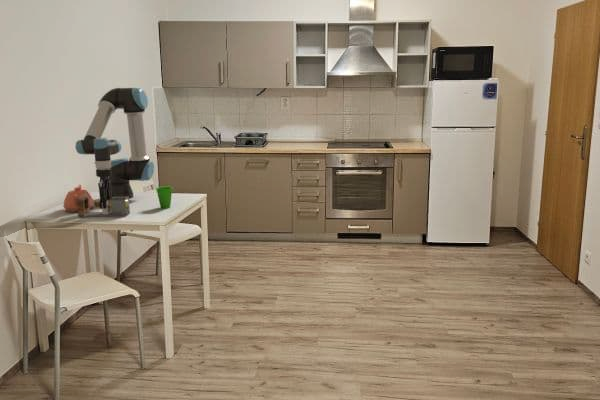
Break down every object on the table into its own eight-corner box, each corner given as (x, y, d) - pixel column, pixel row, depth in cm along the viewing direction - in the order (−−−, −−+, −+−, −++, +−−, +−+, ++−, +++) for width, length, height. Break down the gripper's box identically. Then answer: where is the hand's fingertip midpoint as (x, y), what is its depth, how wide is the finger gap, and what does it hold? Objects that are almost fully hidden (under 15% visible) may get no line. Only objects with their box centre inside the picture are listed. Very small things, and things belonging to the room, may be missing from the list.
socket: (84, 213, 288) (82, 195, 286) (89, 213, 288) (88, 195, 286) (78, 217, 280) (76, 198, 278) (84, 217, 280) (82, 198, 278)
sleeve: (115, 213, 288) (114, 196, 286) (129, 213, 288) (128, 196, 286) (111, 216, 281) (110, 198, 279) (126, 216, 282) (125, 198, 280)
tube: (97, 207, 286) (96, 198, 285) (129, 207, 287) (128, 197, 286) (94, 209, 281) (93, 200, 280) (126, 209, 282) (126, 199, 281)
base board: (84, 213, 288) (84, 212, 288) (130, 213, 289) (130, 211, 289) (78, 217, 280) (78, 215, 280) (125, 216, 281) (125, 215, 281)
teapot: (67, 206, 306) (65, 184, 304) (96, 204, 310) (94, 183, 308) (61, 215, 286) (58, 191, 283) (91, 213, 289) (89, 190, 287)
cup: (176, 206, 304) (175, 186, 302) (168, 209, 296) (167, 189, 294) (162, 205, 307) (161, 186, 305) (153, 208, 298) (152, 189, 296)
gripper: (101, 166, 288) (105, 209, 292) (90, 171, 271) (94, 217, 276) (115, 166, 288) (119, 209, 293) (105, 171, 271) (109, 216, 276)
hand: (107, 213), depth 284 cm, fingers closed on tube, 4 cm apart
